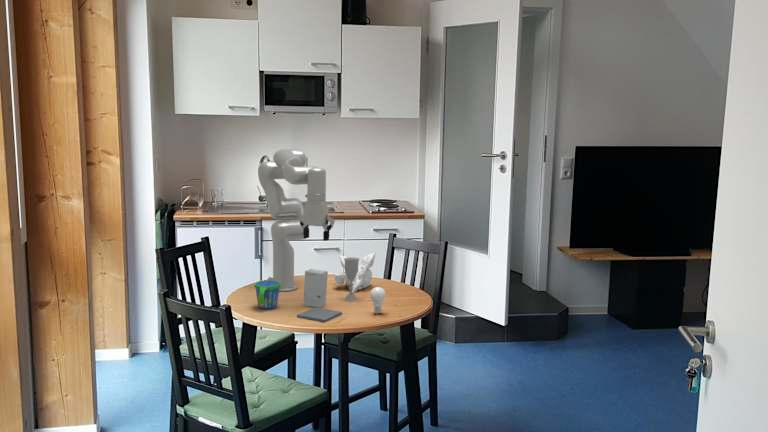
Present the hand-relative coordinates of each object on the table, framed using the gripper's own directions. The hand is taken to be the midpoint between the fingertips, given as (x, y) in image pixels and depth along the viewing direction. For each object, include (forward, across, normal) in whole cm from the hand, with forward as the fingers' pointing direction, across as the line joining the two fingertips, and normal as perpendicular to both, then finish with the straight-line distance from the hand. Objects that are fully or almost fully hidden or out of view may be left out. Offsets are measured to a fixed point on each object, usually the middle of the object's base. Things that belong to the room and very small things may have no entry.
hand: (316, 239), depth 275 cm
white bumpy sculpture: (+28, -1, +35) cm, 45 cm away
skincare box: (+28, 0, 0) cm, 29 cm away
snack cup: (+28, -15, -13) cm, 35 cm away
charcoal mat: (+28, +10, -12) cm, 32 cm away
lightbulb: (+29, +28, +3) cm, 40 cm away
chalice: (+28, +8, +16) cm, 34 cm away
